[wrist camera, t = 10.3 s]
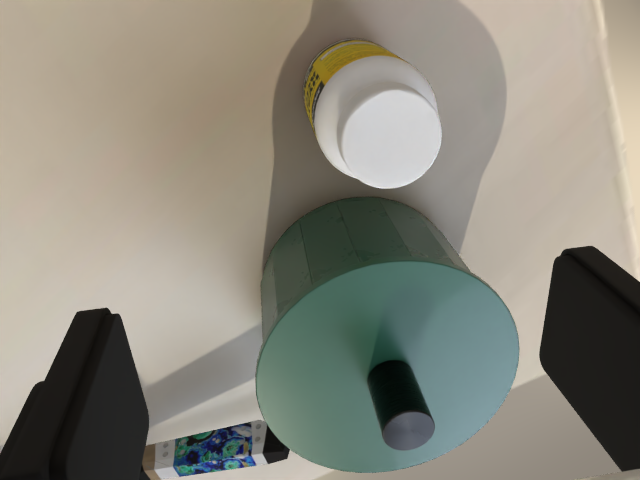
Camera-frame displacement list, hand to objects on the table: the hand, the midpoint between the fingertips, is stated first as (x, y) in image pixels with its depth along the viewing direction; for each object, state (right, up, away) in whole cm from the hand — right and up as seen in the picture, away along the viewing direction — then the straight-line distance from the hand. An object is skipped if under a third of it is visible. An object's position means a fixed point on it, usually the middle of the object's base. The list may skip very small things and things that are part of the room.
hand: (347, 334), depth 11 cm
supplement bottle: (+1, +10, +18) cm, 21 cm away
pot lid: (+3, -5, +16) cm, 17 cm away
